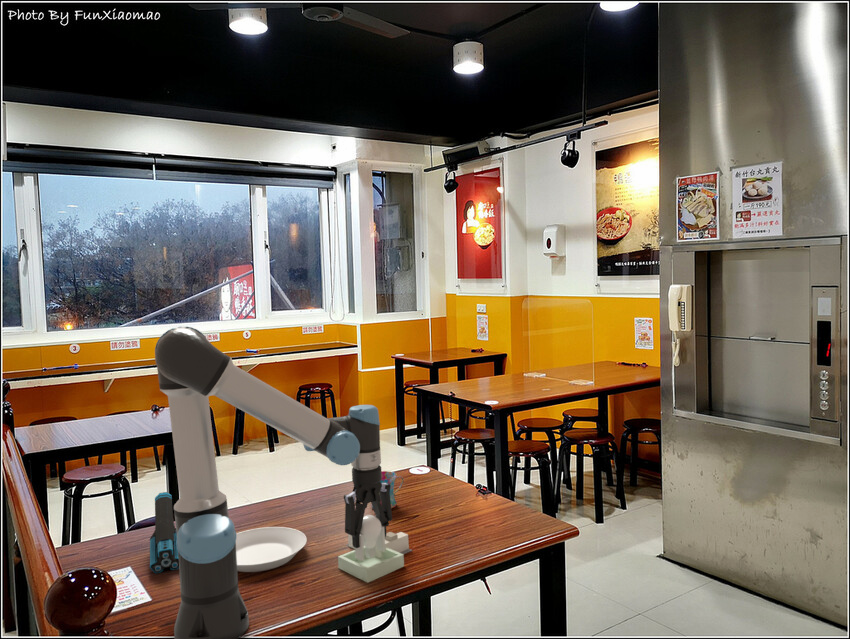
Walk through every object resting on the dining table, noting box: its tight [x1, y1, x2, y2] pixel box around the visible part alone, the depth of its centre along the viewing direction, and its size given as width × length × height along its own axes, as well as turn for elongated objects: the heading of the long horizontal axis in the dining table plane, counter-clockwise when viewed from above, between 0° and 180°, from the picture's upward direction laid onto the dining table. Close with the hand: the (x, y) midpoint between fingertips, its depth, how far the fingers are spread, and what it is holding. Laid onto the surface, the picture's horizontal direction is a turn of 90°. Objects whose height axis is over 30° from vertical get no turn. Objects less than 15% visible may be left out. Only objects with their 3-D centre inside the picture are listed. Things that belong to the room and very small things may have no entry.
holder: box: [345, 531, 413, 559], centre depth 174 cm, size 10×17×6 cm, turn 44°
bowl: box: [236, 526, 308, 573], centre depth 172 cm, size 25×25×4 cm
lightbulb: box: [360, 514, 382, 558], centre depth 162 cm, size 6×6×11 cm
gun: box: [149, 491, 179, 574], centre depth 176 cm, size 8×26×15 cm, turn 23°
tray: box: [337, 546, 405, 584], centre depth 162 cm, size 12×12×3 cm
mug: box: [370, 470, 405, 509], centre depth 207 cm, size 12×9×11 cm
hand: (370, 554), depth 162 cm, fingers closed on lightbulb, 6 cm apart
